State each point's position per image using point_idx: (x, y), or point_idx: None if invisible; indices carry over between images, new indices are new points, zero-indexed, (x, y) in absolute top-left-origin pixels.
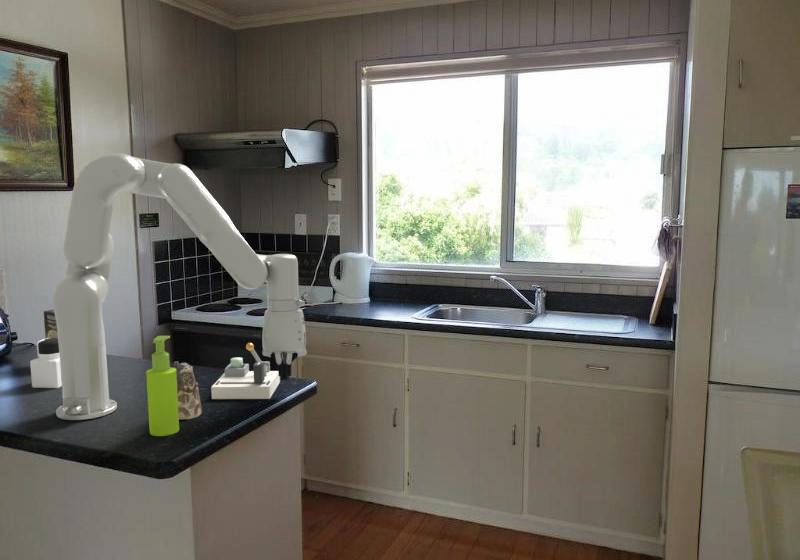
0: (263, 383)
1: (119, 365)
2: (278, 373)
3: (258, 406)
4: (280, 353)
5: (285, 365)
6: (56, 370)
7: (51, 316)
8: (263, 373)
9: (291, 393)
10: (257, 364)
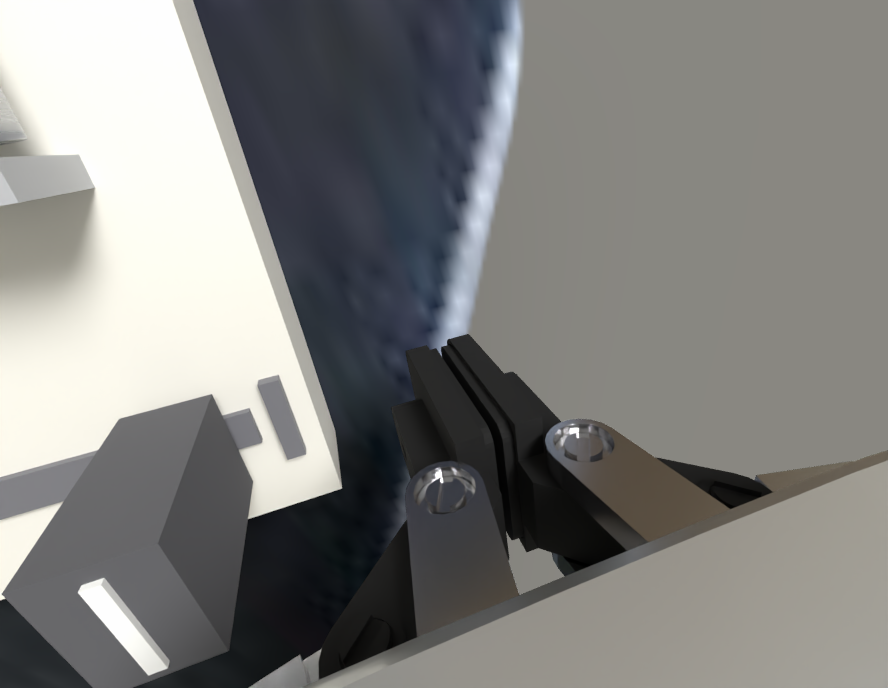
0: (246, 444)
1: None
2: (409, 473)
3: (333, 548)
4: (489, 604)
5: (528, 541)
6: None
7: None
8: (216, 481)
9: (437, 287)
10: (149, 671)
